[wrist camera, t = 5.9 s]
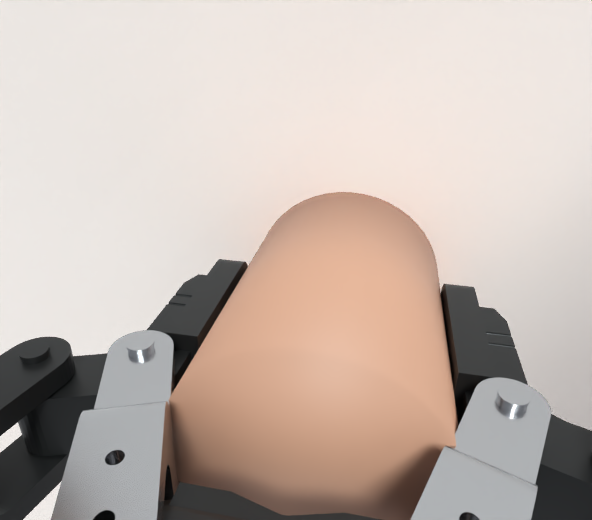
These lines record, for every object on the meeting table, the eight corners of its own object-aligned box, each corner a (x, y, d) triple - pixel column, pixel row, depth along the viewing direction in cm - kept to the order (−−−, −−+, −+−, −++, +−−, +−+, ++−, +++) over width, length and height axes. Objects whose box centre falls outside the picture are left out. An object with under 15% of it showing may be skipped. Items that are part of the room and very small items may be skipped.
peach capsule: (451, 200, 13) (496, 376, 7) (423, 359, 15) (438, 595, 9) (258, 185, 14) (140, 328, 8) (260, 337, 16) (173, 541, 10)
